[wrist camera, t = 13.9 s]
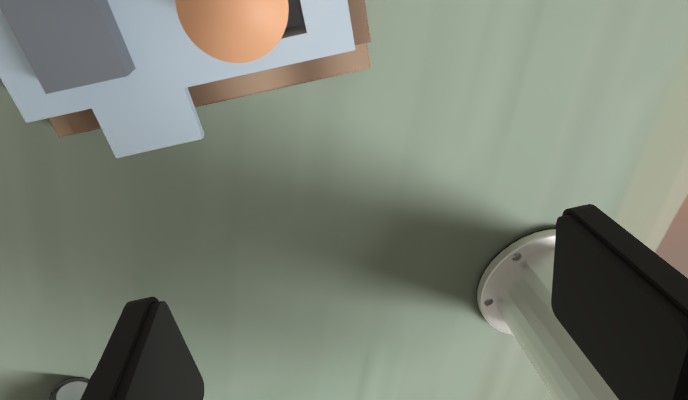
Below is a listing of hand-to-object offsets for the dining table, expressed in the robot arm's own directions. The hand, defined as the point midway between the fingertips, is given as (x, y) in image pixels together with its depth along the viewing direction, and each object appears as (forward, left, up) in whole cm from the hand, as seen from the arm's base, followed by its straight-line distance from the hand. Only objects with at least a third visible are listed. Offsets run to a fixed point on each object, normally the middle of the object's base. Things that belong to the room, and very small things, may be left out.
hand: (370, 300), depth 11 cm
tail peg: (+2, -6, -20) cm, 21 cm away
